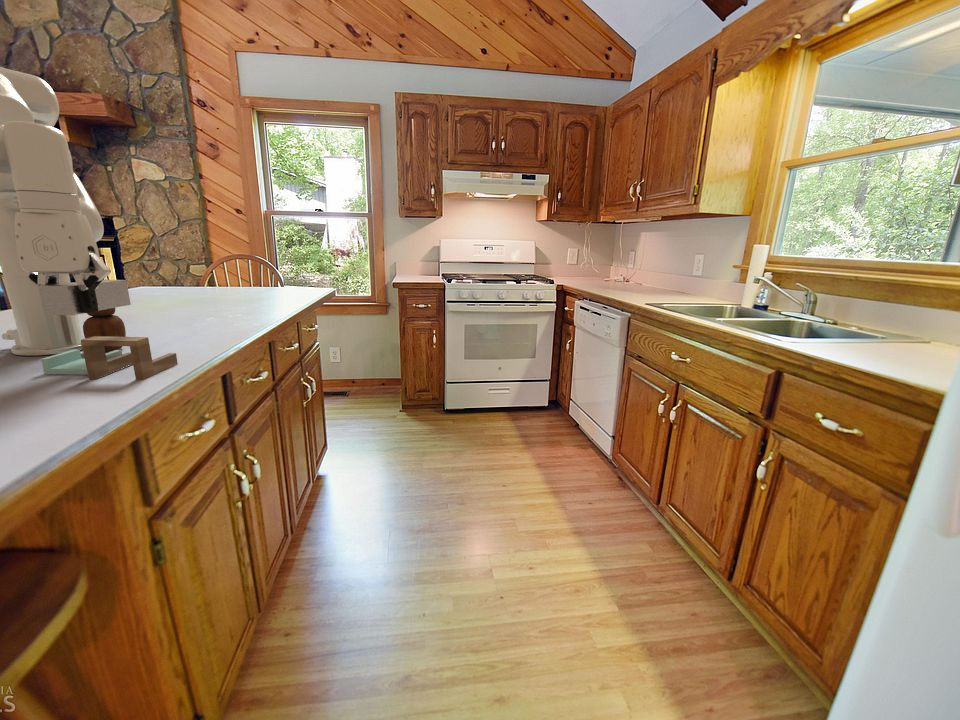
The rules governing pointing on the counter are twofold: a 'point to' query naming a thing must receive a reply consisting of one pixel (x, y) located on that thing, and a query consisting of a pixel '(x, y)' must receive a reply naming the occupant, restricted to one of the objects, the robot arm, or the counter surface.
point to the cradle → (70, 362)
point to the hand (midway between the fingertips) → (74, 310)
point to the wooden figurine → (104, 326)
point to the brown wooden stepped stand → (123, 357)
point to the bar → (66, 301)
